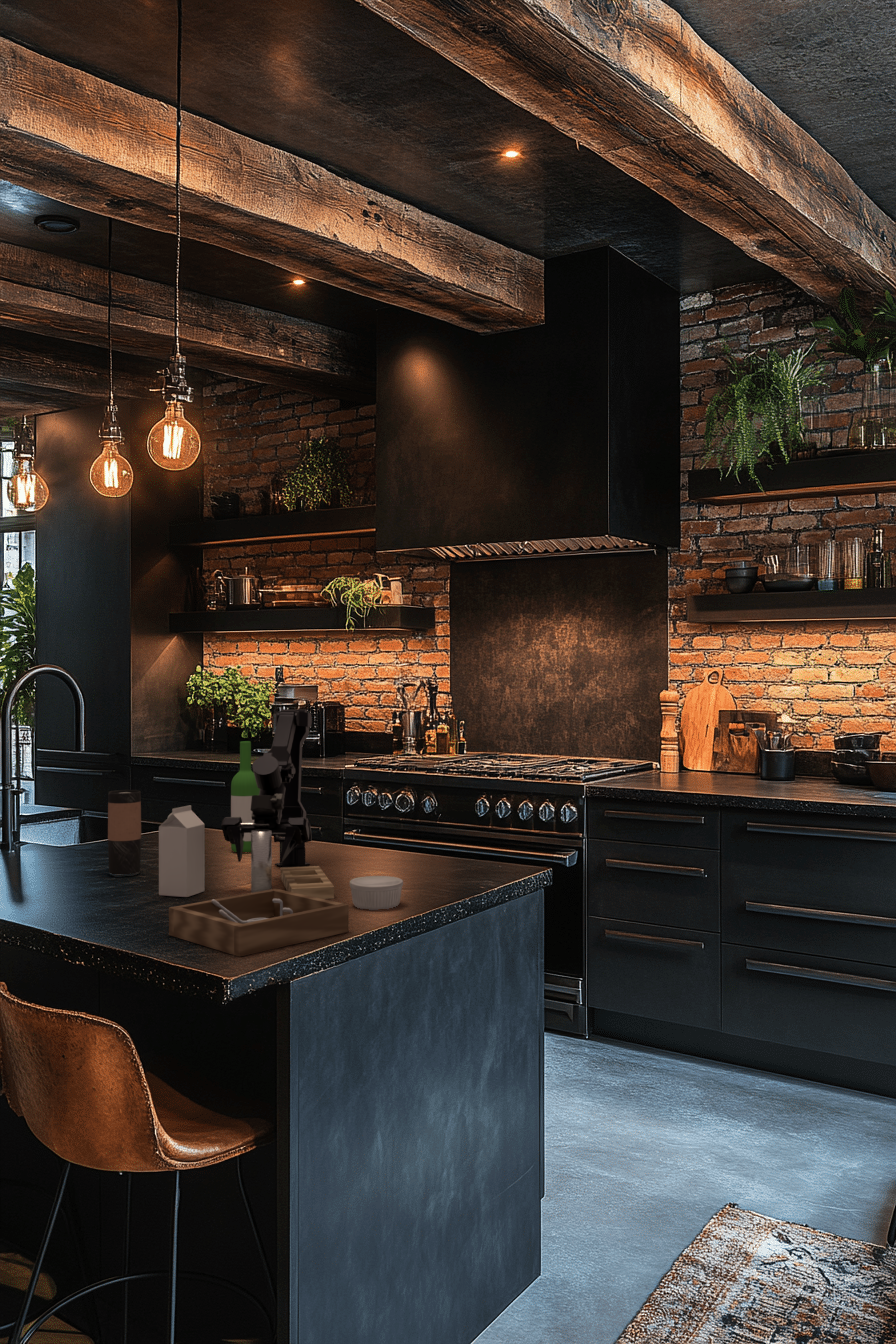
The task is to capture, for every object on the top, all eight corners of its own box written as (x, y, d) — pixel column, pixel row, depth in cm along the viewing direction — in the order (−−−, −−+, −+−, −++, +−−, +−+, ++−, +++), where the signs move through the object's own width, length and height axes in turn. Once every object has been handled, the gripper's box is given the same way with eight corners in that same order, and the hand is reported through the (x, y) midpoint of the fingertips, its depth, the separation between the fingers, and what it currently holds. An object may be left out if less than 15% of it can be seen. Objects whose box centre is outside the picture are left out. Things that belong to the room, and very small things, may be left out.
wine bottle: (236, 849, 292) (236, 740, 292) (263, 849, 291) (263, 740, 291) (226, 853, 284) (226, 742, 284) (254, 854, 283) (254, 742, 283)
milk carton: (204, 891, 233) (204, 805, 233) (186, 898, 226) (186, 809, 227) (177, 889, 235) (177, 804, 236) (158, 896, 229) (158, 808, 229)
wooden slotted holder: (280, 878, 249) (280, 867, 249) (318, 876, 251) (318, 865, 251) (291, 900, 223) (291, 888, 223) (334, 898, 226) (334, 886, 226)
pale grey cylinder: (247, 895, 229) (247, 830, 229) (263, 892, 232) (263, 828, 232) (259, 898, 226) (259, 832, 226) (275, 895, 229) (275, 830, 229)
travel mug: (147, 873, 256) (147, 790, 256) (125, 878, 249) (125, 793, 249) (123, 870, 259) (123, 789, 259) (100, 876, 252) (100, 792, 252)
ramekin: (382, 914, 211) (382, 887, 211) (338, 908, 217) (338, 882, 217) (413, 904, 220) (413, 878, 220) (370, 898, 226) (370, 873, 226)
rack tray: (168, 934, 194) (168, 907, 194) (275, 913, 211) (275, 888, 211) (239, 956, 178) (239, 927, 178) (348, 931, 196) (348, 904, 196)
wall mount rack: (297, 938, 192) (297, 906, 192) (221, 945, 187) (221, 912, 187) (279, 920, 206) (279, 890, 206) (208, 926, 201) (208, 896, 201)
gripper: (223, 780, 234) (210, 838, 223) (307, 780, 233) (298, 838, 222) (231, 812, 241) (219, 868, 230) (312, 812, 241) (304, 869, 230)
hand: (260, 860), depth 228 cm, fingers open, 9 cm apart
